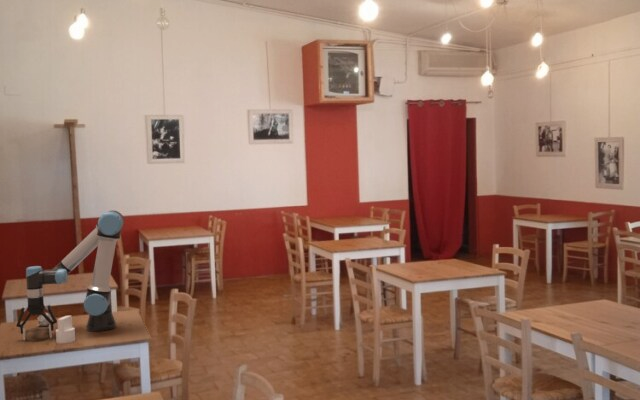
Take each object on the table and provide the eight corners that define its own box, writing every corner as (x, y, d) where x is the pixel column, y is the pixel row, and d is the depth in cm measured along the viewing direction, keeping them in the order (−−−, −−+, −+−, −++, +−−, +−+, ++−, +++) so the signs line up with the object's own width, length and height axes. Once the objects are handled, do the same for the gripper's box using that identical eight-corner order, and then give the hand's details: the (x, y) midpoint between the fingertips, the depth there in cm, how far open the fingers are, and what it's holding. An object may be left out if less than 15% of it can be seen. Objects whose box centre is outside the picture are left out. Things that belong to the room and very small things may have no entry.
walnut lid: (50, 335, 353) (49, 326, 353) (48, 340, 342) (48, 330, 342) (27, 338, 350) (27, 328, 349) (25, 343, 339) (24, 333, 339)
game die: (49, 332, 376) (59, 317, 377) (38, 330, 369) (49, 315, 369) (39, 323, 380) (50, 308, 381) (29, 321, 372) (40, 305, 373)
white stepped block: (62, 338, 345) (60, 315, 344) (78, 338, 344) (77, 315, 343) (52, 343, 336) (51, 319, 335) (69, 343, 335) (68, 319, 334)
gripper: (60, 293, 352) (63, 334, 353) (10, 297, 345) (13, 339, 346) (60, 295, 345) (62, 337, 346) (8, 300, 338) (11, 342, 339)
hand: (37, 338), depth 346 cm, fingers open, 12 cm apart
